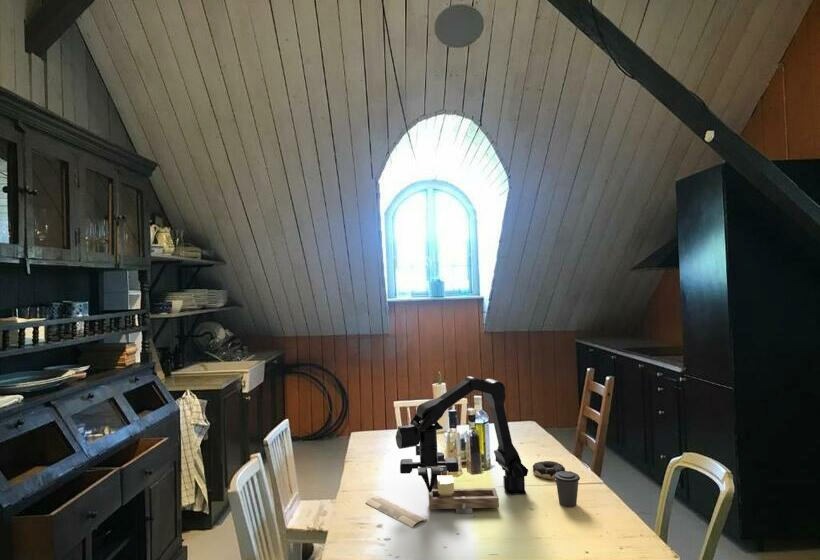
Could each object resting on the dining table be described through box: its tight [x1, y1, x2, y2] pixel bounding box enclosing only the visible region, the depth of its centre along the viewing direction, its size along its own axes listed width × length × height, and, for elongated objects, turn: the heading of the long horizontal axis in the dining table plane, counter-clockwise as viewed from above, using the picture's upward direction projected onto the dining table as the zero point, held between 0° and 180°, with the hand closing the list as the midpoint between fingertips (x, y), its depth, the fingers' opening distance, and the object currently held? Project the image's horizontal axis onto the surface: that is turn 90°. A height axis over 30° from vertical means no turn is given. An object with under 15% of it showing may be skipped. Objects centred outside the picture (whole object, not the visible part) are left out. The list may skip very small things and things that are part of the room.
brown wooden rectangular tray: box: [428, 487, 500, 515], centre depth 164 cm, size 22×9×5 cm, turn 89°
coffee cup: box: [554, 470, 581, 509], centre depth 164 cm, size 8×8×10 cm
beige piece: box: [365, 496, 428, 529], centre depth 162 cm, size 24×7×2 cm, turn 42°
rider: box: [437, 475, 455, 497], centre depth 164 cm, size 5×7×6 cm
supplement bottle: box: [433, 451, 448, 489], centre depth 182 cm, size 6×6×11 cm
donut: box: [532, 460, 566, 480], centre depth 189 cm, size 11×12×4 cm
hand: (430, 491), depth 164 cm, fingers closed
